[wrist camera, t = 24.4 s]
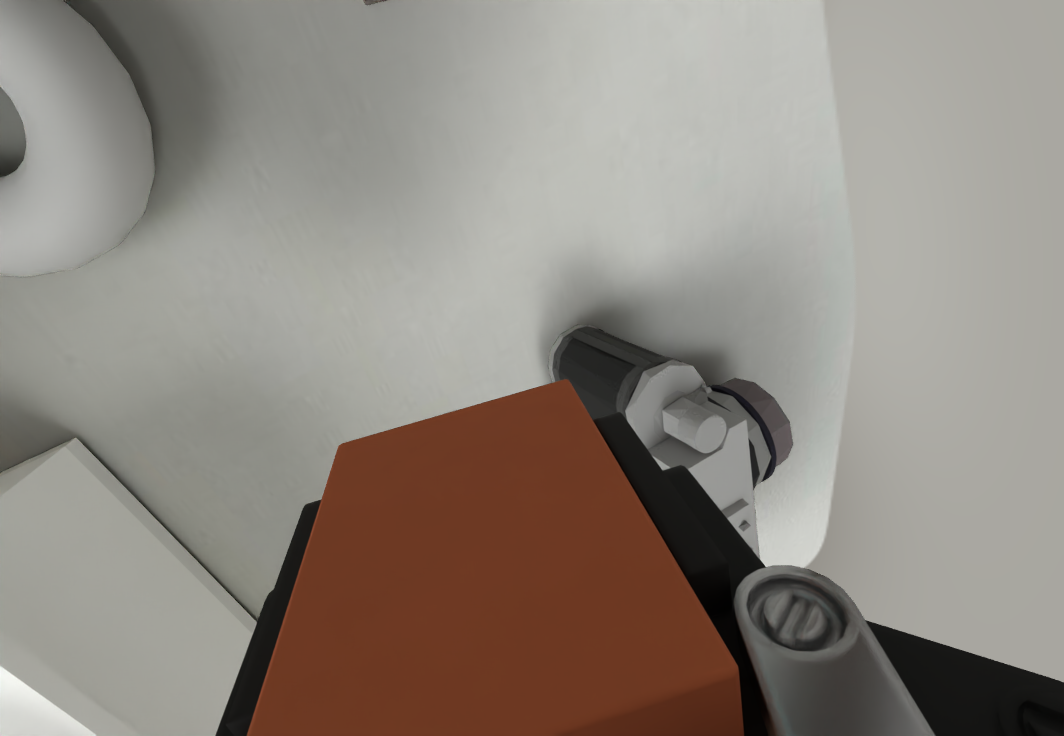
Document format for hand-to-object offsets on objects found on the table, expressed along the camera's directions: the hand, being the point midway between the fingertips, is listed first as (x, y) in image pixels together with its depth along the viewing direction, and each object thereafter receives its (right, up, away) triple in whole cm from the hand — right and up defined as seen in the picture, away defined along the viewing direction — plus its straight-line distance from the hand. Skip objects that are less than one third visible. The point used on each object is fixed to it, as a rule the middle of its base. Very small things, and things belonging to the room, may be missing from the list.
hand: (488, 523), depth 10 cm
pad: (0, 0, +1) cm, 1 cm away
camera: (+8, -1, +18) cm, 20 cm away
